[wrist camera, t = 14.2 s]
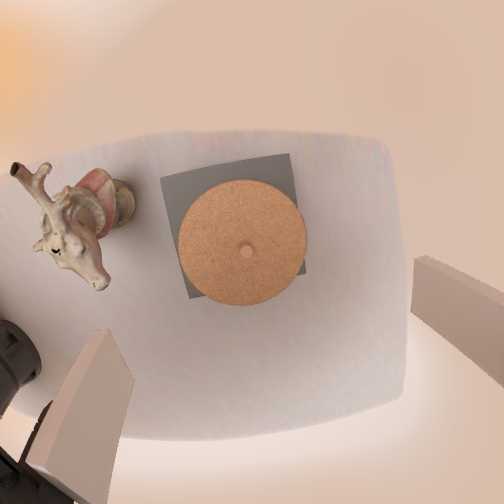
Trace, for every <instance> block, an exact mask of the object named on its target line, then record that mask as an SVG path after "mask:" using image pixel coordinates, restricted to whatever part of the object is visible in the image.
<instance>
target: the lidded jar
mask: <svg viewBox="0 0 504 504" xmlns="http://www.w3.org/2000/svg"><path fill="white" fill-rule="evenodd" d="M306 247H307V235H306V228H305V224H304V221H303V218H302V216H301V214H300V212H299V210H298V209H297V207H296V205H295V204H294V203H293V202H292V201H291V199H290V198H289V197H288V196H287V195H285V194H284V193H283V192H282V191H280V190H279V189H277V188H275V187H273V186H271V185H269V184H266V183H263V182H261V181H255V180H248V179H238V180H232V181H227V182H224V183H221V184H218V185H216V186H214V187H212V188H210V189H208V190H207V191H206V192H204V193H203V194H202V195H200V196H199V197H198V198H197V199H196V200H195V201H194V202H193V204H192V205H191V206H190V208H189V209H188V211H187V212H186V214H185V216H184V218H183V221H182V223H181V227H180V230H179V236H178V253H179V258H180V262H181V265H182V267H183V270H184V272H185V274H186V275H187V277H188V279H189V280H190V281H191V282H192V284H193V285H194V286H195V287H196V288H197V289H198V290H199V291H201V292H202V293H203V294H205V295H206V296H208V297H209V298H211V299H213V300H216V301H218V302H221V303H225V304H229V305H238V306H241V305H252V304H257V303H260V302H263V301H266V300H268V299H270V298H272V297H274V296H276V295H277V294H279V293H280V292H281V291H283V290H284V289H285V288H286V287H287V286H288V285H289V284H290V283H291V282H292V281H293V279H294V278H295V277H296V275H297V274H298V272H299V270H300V268H301V266H302V263H303V261H304V258H305V253H306Z"/></svg>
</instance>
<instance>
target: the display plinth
mask: <svg viewBox="0 0 504 504" xmlns="http://www.w3.org/2000/svg"><path fill="white" fill-rule="evenodd" d="M238 179H248V180H255V181H261V182H263V183H266V184H269V185H271V186H273V187H275V188H277V189H279V190H280V191H282V192H283V193H284V194H285V195H287V196H288V197H289V198H290V199H291V201H292V202H293V203H294V204H295V205H296V207H297V209H298V206H297V200H296V193H295V187H294V180H293V174H292V168H291V162H290V156H289V153H288V154H281V155H273V156H267V157H260V158H254V159H248V160H242V161H236V162H231V163H226V164H220V165H215V166H210V167H205V168H201V169H196V170H192V171H187V172H183V173H178V174H174V175H170V176H166V177H162V178H160V181H161V186H162V191H163V195H164V200H165V205H166V209H167V214H168V218H169V222H170V227H171V231H172V235H173V239H174V243H175V247H176V251H177V255H178V259H179V262H180V258H179V253H178V236H179V230H180V227H181V223H182V221H183V218H184V216H185V214H186V212H187V211H188V209H189V208H190V206H191V205H192V204H193V202H194V201H195V200H196V199H197V198H198V197H199V196H200V195H202V194H203V193H204V192H206V191H207V190H208V189H210V188H212V187H214V186H216V185H218V184H221V183H224V182H227V181H232V180H238ZM180 266H181V270H182V274H183V277H184V281H185V284H186V288H187V291H188V295H189V298H195V297H200V296H205V294H203V293H202V292H201V291H199V290H198V289H197V288H196V287H195V286H194V285H193V284H192V282H191V281H190V280H189V279H188V277H187V275H186V274H185V272H184V270H183V267H182V265H181V262H180ZM305 273H306V269H305V260H304V261H303V263H302V266H301V268H300V270H299V272H298V274H297V275H301V274H305ZM297 275H296V276H297Z"/></svg>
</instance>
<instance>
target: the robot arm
mask: <svg viewBox="0 0 504 504" xmlns="http://www.w3.org/2000/svg"><path fill="white" fill-rule="evenodd" d="M411 312H412V313H413V314H414V315H415V316H417V317H418V318H419V319H421V320H422V321H423V322H425V323H426V324H427V325H428V326H430V327H431V328H432V329H433V330H435V331H436V332H437V333H439V334H440V335H441V336H442V337H444V338H445V339H446V340H447V341H449V342H450V343H451V344H452V345H454V346H455V347H456V348H457V349H458V350H460V351H461V352H462V353H463V354H465V355H466V356H467V357H468V358H470V359H471V360H472V361H473V362H474V363H476V364H477V365H478V366H479V367H480V368H481V369H483V370H484V371H485V372H486V373H487V374H488V375H489V376H491V377H492V378H493V379H494V380H495V381H497V383H499V384H500V385H501V386H502V387H503V388H504V293H502V292H500V291H499V290H497V289H495V288H493V287H491V286H489V285H487V284H485V283H483V282H481V281H479V280H477V279H475V278H473V277H471V276H469V275H467V274H465V273H463V272H461V271H459V270H457V269H455V268H453V267H451V266H449V265H446V264H444V263H442V262H440V261H438V260H436V259H433V258H431V257H429V256H427V255H425V256H421V257H419V258H415V259H414V279H413V291H412V302H411ZM40 371H41V361H40V358H39V355H38V353H37V350H36V349H35V347H34V345H33V344H32V342H31V341H30V339H29V338H28V337H27V336H26V334H25V333H24V332H23V331H22V330H21V329H20V328H18V327H17V326H16V325H14V324H13V323H11V322H9V321H6V320H1V321H0V419H2V416H3V414H4V412H5V411H6V409H7V407H8V406H9V404H10V402H11V401H12V399H13V398H14V396H15V394H16V393H17V391H18V390H19V388H21V387H23V386H24V385H26V384H28V383H29V382H31V381H33V380H34V379H35V378H36V377H37V376H38V374H39V373H40ZM134 381H135V380H134V378H133V377H132V375H131V373H130V371H129V369H128V367H127V365H126V363H125V362H124V360H123V358H122V356H121V354H120V352H119V350H118V347H117V345H116V343H115V341H114V339H113V337H112V335H111V332H110V330H109V329H106V330H99V331H94V332H93V333H92V335H91V336H90V338H89V340H88V341H87V343H86V344H85V346H84V348H83V349H82V351H81V353H80V354H79V356H78V358H77V359H76V361H75V363H74V364H73V366H72V368H71V369H70V371H69V373H68V375H67V376H66V378H65V380H64V382H63V384H62V385H61V387H60V389H59V391H58V393H57V395H56V396H55V398H54V400H52V401H51V402H50V403H49V404H48V405H47V406H46V407H45V408H44V409H43V411H42V413H41V415H40V417H39V419H38V423H36V425H35V427H34V431H32V433H31V435H30V437H29V439H28V441H27V444H26V446H25V448H24V450H23V453H22V455H21V458H20V460H19V462H18V463H17V462H16V461H15V460H14V459H13V458H11V456H9V454H7V452H6V451H5V450H4V449H3V448H2V447H1V446H0V504H74V501H75V502H77V503H79V504H107V499H108V493H109V487H110V482H111V476H112V471H113V466H114V461H115V456H116V452H117V447H118V442H119V438H120V434H121V430H122V426H123V422H124V418H125V414H126V410H127V406H128V403H129V399H130V395H131V392H132V388H133V385H134Z"/></svg>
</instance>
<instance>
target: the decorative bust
mask: <svg viewBox="0 0 504 504" xmlns="http://www.w3.org/2000/svg"><path fill="white" fill-rule="evenodd" d="M51 170H52V166H51V164H50V163H48V162H47V163H44V164H42V165H41V166H40V167H39V169H38V171H37V172H36V173H35V174H32V173H31V172H30V171H29V170H28V169H26V168H25V166H24V165H22V164H20V163H18V162H14V163H13V165H12V167H11V171H10V174H11V175H12V176H13V177H15V178H17V179H18V180H19V182H20V183H21V184H22V185H23V186H24V187H25V188H26V190H27V191H28V192H29V193H30V194H31V195H32V196H33V197H34V198H35V199H36V200H37V202H38V203H39V204H40V205H41V207H42V209H43V211H42V213H41V216H40V227H41V230H42V232H43V234H44V235H43V238H42V239H41V240H39V241H38V242H37V243H36V244H35V245H34V246H33V251H34V252H38V251H43V250H44V252H47V253H50V254H51V255H52V256H53V257H54V259H55V260H56V263H57V265H58V267H59V268H60V269H64V268H65V269H70V270H73V271H74V272H75V273H77V274H78V275H80V276H81V277H82V278H84V279H85V280H86V281H87V282H88V283H89V285H90V286H91V287H92V288H93V289H94V290H95V291H102V290H104V289H105V288H106V287H107V286H108V285H109V283H110V281H111V277H110V276H109V274H108V273H107V272H106V271H105V269H104V268H103V266H102V254H101V249H100V245H99V242H98V239H100V238H102V237H104V236H106V235H107V234H108V233H109V231H110V230H111V229H115V228H118V227H120V226H122V225H123V224H125V223H126V222H127V221H128V220H129V219H130V218H131V216H132V215H133V213H134V210H135V205H136V202H135V197H134V194H133V192H132V190H131V189H130V188H129V186H128V185H127V184H126V183H124V182H122V181H120V180H116V179H112V178H111V177H110V175H109V174H108V173H107V172H106V171H105V170H103V169H100V168H96V169H93V170H92V171H90V172H89V173H88V174H87V175H86V176H85V177H83V178H82V179H81V180H80V181H79V182H78V183H77V184H76V186H75V187H70V186H69V185H68V186H65V187H64V188H63V190H62V191H61V192H59V193H57V194H56V195H54V196H53V197H52V198H51V199H50V197H49V196H48V195H47V193H46V192H45V190H44V185H43V184H44V180H45V177H46V174H49V173H50V171H51Z"/></svg>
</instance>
